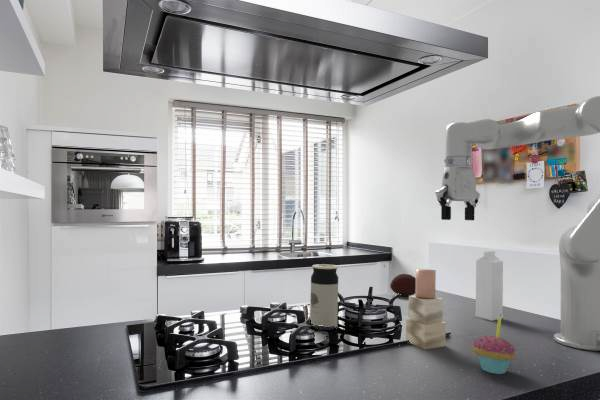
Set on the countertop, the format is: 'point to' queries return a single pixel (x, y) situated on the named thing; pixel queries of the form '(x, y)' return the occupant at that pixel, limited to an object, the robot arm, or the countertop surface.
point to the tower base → (426, 334)
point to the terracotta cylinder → (425, 283)
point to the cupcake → (494, 352)
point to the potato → (404, 285)
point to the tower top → (425, 310)
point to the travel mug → (324, 295)
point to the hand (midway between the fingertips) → (457, 220)
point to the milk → (489, 287)
